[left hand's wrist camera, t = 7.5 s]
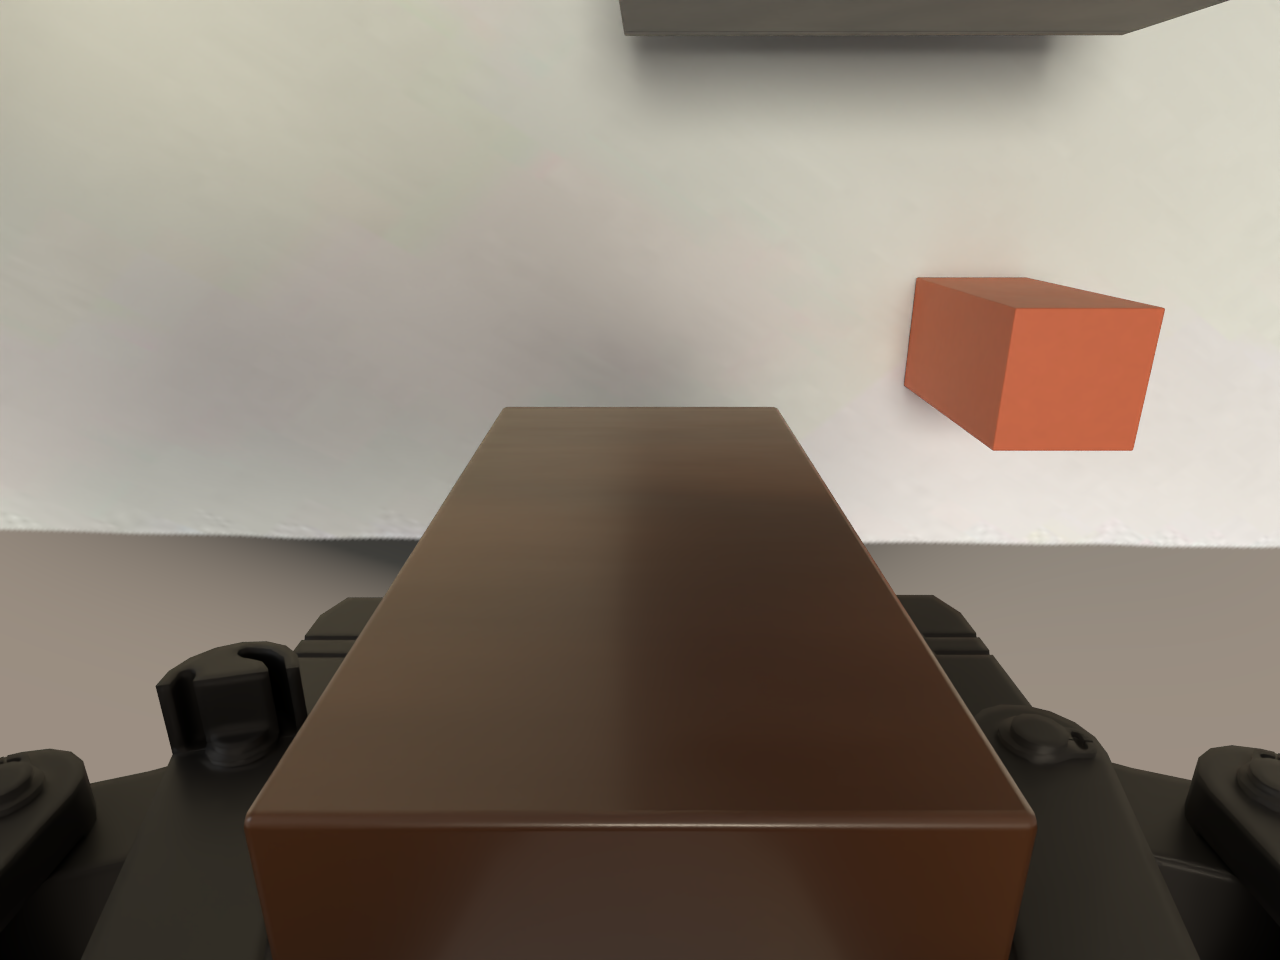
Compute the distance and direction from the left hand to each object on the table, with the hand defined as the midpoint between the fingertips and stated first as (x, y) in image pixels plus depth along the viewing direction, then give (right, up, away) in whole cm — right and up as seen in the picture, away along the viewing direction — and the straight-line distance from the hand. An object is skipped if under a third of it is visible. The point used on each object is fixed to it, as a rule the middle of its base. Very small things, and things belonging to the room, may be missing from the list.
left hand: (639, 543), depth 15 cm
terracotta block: (+15, +8, +22) cm, 28 cm away
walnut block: (0, 0, +1) cm, 1 cm away
